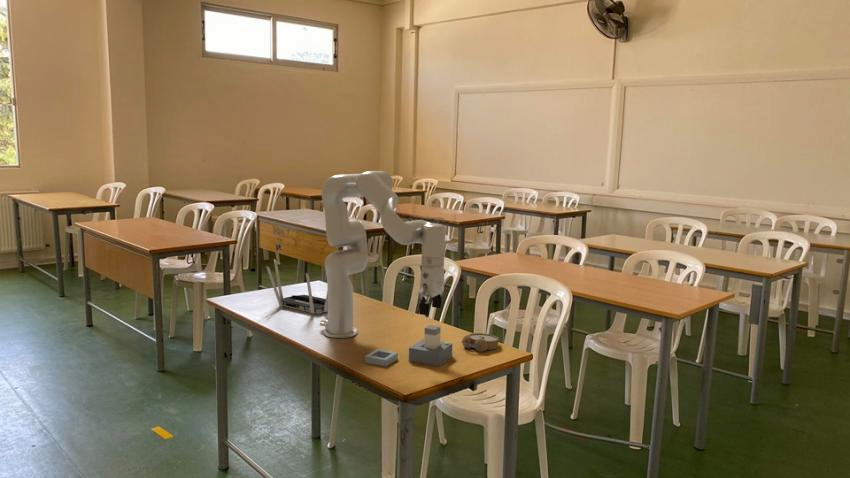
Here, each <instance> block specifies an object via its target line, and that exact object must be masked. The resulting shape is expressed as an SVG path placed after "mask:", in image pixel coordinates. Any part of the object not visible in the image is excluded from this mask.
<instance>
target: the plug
mask: <svg viewBox="0 0 850 478" xmlns="http://www.w3.org/2000/svg"><path fill="white" fill-rule="evenodd" d="M441 328H442V327H441V326H439V325H434V324H433V325H432V324H428V325H427V326H425V327H424V338H423V339H424V348H429V349H436V348H438V347H439V346H440V342H441Z"/></svg>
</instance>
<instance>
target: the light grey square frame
mask: <svg viewBox="0 0 850 478" xmlns="http://www.w3.org/2000/svg"><path fill="white" fill-rule="evenodd" d="M398 354H399V353H398V352H395V351H390V350H384V349H381V348H379V349H378V348H376V349H375V350H372V351H370V352H369V353H368V354H366V355H364V363H365V364H366V363H367V364H370V365H375V366H376V365H377V366H380V367H385V368H386V367H387V366H390V365H391V364H392V363H394V362H395V361H397V360H398V359H399V358H398Z"/></svg>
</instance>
